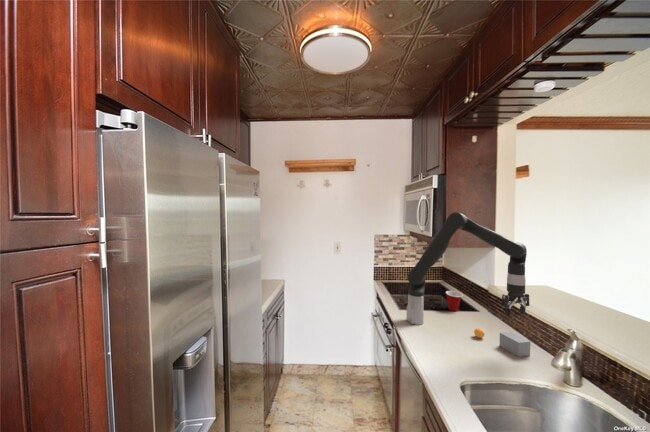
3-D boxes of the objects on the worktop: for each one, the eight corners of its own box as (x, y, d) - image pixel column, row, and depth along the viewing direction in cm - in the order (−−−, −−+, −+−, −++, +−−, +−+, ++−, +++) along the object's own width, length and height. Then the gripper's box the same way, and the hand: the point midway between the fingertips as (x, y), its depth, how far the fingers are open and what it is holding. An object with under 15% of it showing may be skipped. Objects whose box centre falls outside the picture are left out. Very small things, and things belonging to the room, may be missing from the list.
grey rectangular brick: (518, 356, 127) (518, 342, 127) (499, 345, 137) (499, 332, 137) (530, 355, 128) (530, 341, 128) (510, 344, 139) (510, 331, 139)
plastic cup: (455, 313, 180) (455, 296, 180) (441, 308, 189) (442, 292, 189) (465, 311, 185) (466, 294, 185) (452, 306, 194) (452, 290, 194)
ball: (478, 340, 143) (479, 330, 143) (471, 335, 148) (472, 326, 148) (486, 339, 144) (486, 330, 144) (479, 335, 149) (479, 326, 149)
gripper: (520, 280, 137) (520, 311, 138) (497, 281, 135) (496, 313, 135) (534, 284, 130) (534, 316, 130) (510, 285, 127) (510, 318, 127)
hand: (515, 314), depth 133 cm, fingers open, 8 cm apart
